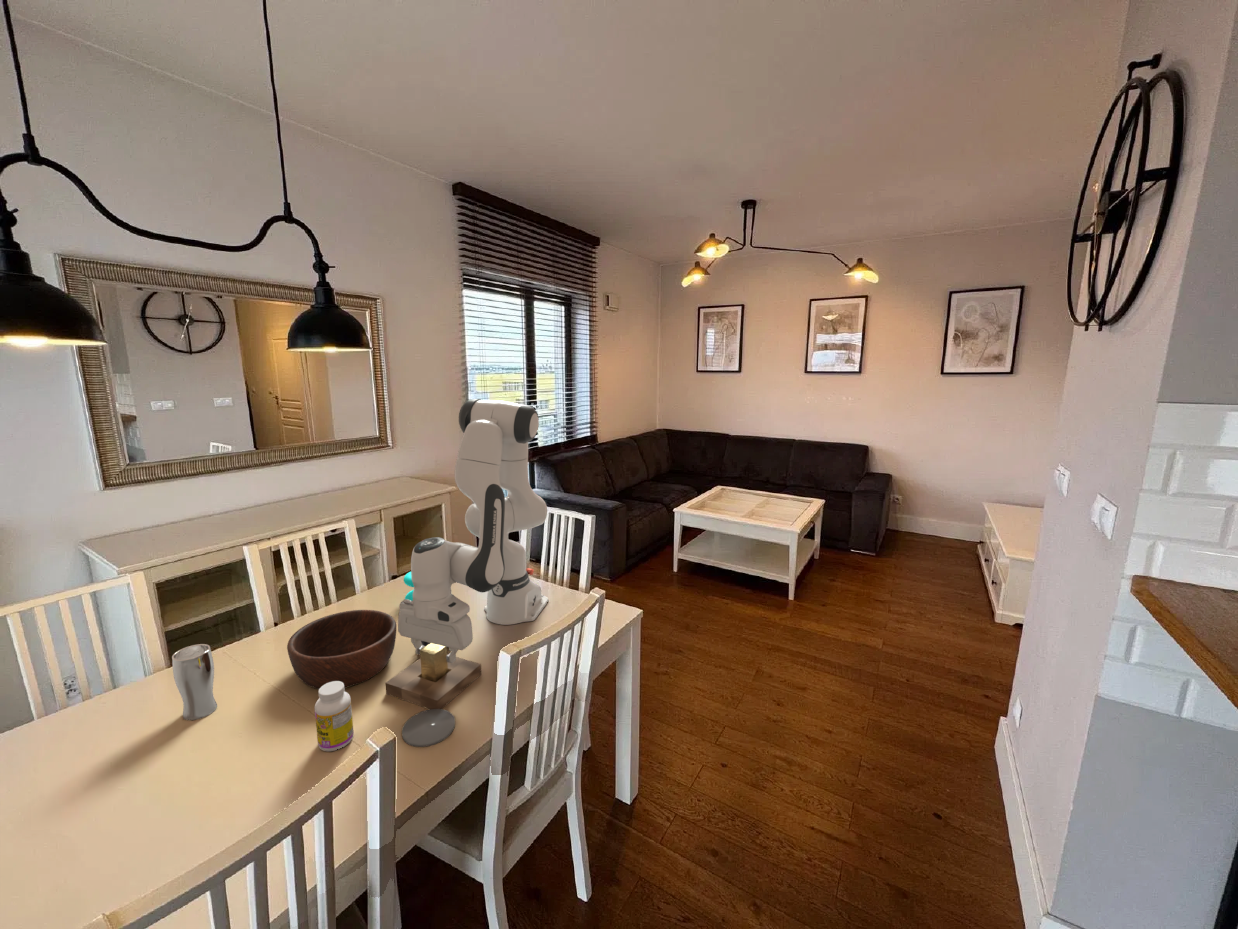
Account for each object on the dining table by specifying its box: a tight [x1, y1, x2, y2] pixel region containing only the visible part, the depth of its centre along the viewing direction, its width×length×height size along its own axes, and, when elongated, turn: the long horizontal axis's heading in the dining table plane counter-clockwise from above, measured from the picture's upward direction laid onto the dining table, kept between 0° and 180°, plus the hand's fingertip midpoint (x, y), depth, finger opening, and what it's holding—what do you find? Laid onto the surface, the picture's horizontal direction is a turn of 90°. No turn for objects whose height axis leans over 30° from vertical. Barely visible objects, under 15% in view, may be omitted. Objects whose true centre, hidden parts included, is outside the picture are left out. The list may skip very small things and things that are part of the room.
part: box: [419, 643, 448, 683], centre depth 126 cm, size 4×4×10 cm
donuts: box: [403, 571, 414, 601], centre depth 170 cm, size 10×10×10 cm
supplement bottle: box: [314, 681, 354, 752], centre depth 106 cm, size 7×7×13 cm
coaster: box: [401, 708, 456, 748], centre depth 112 cm, size 11×11×1 cm
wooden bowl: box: [286, 609, 397, 690], centre depth 132 cm, size 25×25×10 cm
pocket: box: [384, 653, 482, 710], centre depth 127 cm, size 16×16×3 cm
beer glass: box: [171, 643, 218, 721], centre depth 114 cm, size 7×7×15 cm
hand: (435, 657), depth 125 cm, fingers open, 8 cm apart
